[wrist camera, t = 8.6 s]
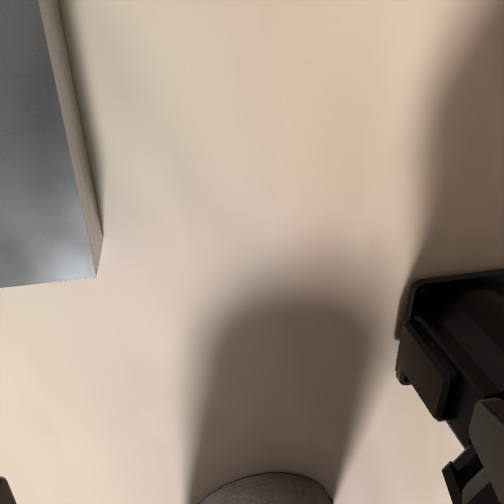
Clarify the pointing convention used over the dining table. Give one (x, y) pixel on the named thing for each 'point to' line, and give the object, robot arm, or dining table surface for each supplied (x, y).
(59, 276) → the grey slotted plate
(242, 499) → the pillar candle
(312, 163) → the dining table surface
